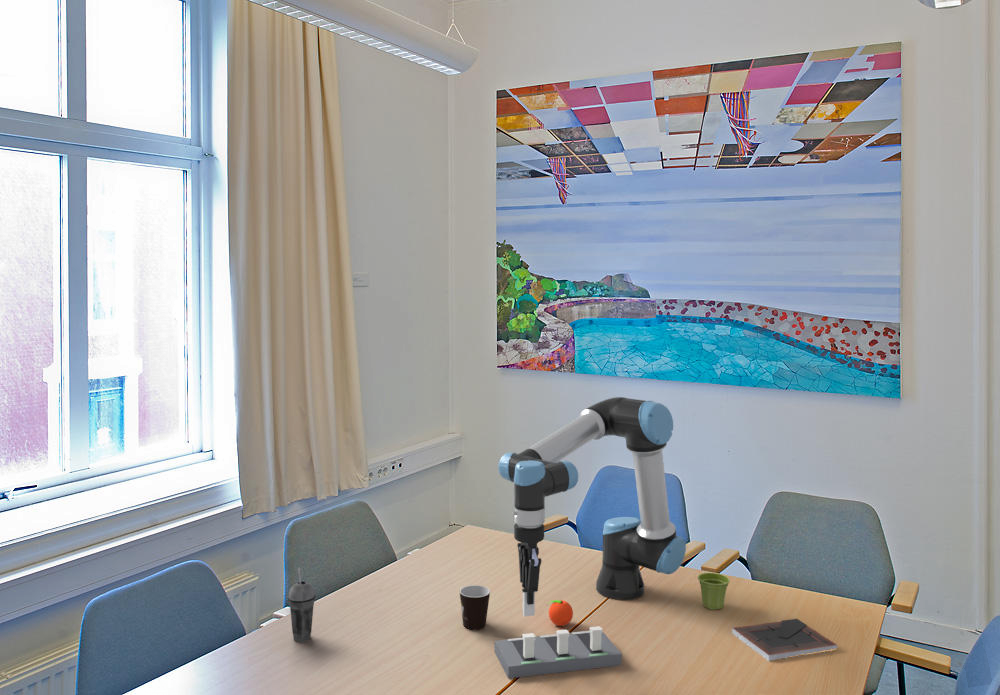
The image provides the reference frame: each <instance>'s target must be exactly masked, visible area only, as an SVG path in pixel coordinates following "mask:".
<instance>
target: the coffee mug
mask: <svg viewBox="0 0 1000 695" xmlns="http://www.w3.org/2000/svg"><path fill="white" fill-rule="evenodd" d="M490 594H491V589H490V588H489V587H486V586H483V585H477V584H471V585H465V586H462V587H461V588H460V590H459V599H460V609H461V618H462V619H461V620H462V626H464V627H465V628H464V627H463V628H464V629H466V630H468V629H469V631H481V630H483V629H484V627H485V628H486V626H487V619H488V618H487V617H488V609H489V604H490V603H489V601H490ZM480 629H481V630H480Z"/></svg>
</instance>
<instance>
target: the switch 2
mask: <svg viewBox="0 0 1000 695" xmlns="http://www.w3.org/2000/svg"><path fill="white" fill-rule="evenodd" d="M603 630H604V629H603V628H602V627H601V626H600V625H598V626H589V630H588V631H590V649H591V650H592V651H596V650H601V635H602V633H604V631H603Z"/></svg>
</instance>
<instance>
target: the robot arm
mask: <svg viewBox="0 0 1000 695" xmlns="http://www.w3.org/2000/svg"><path fill="white" fill-rule="evenodd" d="M673 431H674V419H673V415H672V413H671V412H670V410H669V408H668V407H667V406H665V405H664V404H662V403H659V402H655V401H653V400H643V399H634V398H627V397H625V396H624V397H623V396H619V397H618V396H617V397H616V396H615V397H611V398H608V399H607V398H606V399H604V400H602V401H599V402H597V403H594V404H592V405H590V406H588V407H587V408H585V409H584V410H582V411H581V412H580V413H579V415H578V417H577V418H575V419H574V420H572V421H570V422H569V423H567V424H565V425H564V426H562V427H561V428H559V429H558V430H556V431H554V432H552V433H551V434H549V435H547V436H546V437H544V438H542V439H541V440H539V441H538V442H536V443H534V444H533V445H531V446H529V447H528V448H526V449H525V450H523V451H521V452H519V453H517V452H507V453H504V454H503V455H502V456H501V458H500V459H499V462H498V473H499V476H500V477H501V478H502V479H504V480H507V481H509V482H511V483H513V484H514V488H513V489H514V491H513V492H514V511H512V515H513V516H514V523H515V524H514V525H513V531H514V533H513V537H514V539H515V540H516V541H517V542H518V543H517V545H516V546H517V551H518V564H519V565H518V566H519V567H518V568H519V582H520V583H521V587H522V589H521V590H522V615H523V617H529V616H530V617H531V616H535V614H536V613H535V612H536V611H535V610H536V608H535V606H536V604H535V603H536V601H535V600H536V599H535V598H536V596H535V595H536V592H538V591H539V582H540V571H541V564H542V558H541V557H539V556H538V555H539V554H540V549H539V547H538V543H540V542H542V541H543V540H544V539H545V524H544V523H545V518H546V515H545V514H546V512H545V511H546V510H545V509H546V508H545V507H546V506H545V499H546V497H549V496H552V495H556V494H559V493H565V492H567V491H569V490H571V489H573V488H576V486H577V484H578V482H579V471H578V469H577V467H576V466H575V465H574V463H573V462H571V461H568V460H563V459H564V458H566V457H567V456H569V455H570V454H572V453H574V452H576V451H577V450H578V449H580V448H582V447H583V446H585V445H586V444H588V443H589V442H591V441H592V440H600V439H602V438H604V437H606V436H615V437H620V438H624V439H625V444H626V448H627V450H628V451H629V452H630V453H632V458H633V466H634V476H635V482H636V483H635V485H636V493H637V500H638V510H639V518H638V517H632V516H619V517H618V516H617V517H612V518H609V519H607V520H606V521H605V522H604V524H603V532H602V563H601V564H602V565H601V568H600V571H599V573H598V576H597V580H596V583H595V584H596V585H595V587H596V588H595V590H596V591H597V592H598V594H599V595H602V596H603V597H606V598H609V599H613V600H622V601H623V600H624V601H626V600H634V599H638V598H640V597H642V596H644V594H645V582H644V579H643V576H642V572H641V569H640V567H642V568H645V569H649V570H651V571H655V572H656V573H659V574H660V573H661V574H664V575H672V574H674V573H675V572H676V571H678V570H679V569H680V567H681V566H682V563H683V561H684V559H685V557H686V556H685V555H686V551H687V544H686V541H685V539H684V538H682V536H677V527H676V525H675V524H674V523H673V522H672V521H670V520H671V519H670V512H669V503H668V500H669V499H668V493H667V485H666V484H667V482H666V473H665V465H664V464H665V463H664V456H663V450H664V449H665V448H666V447H667V443H668V442H669V441H670V439H671V438H672V436H673Z"/></svg>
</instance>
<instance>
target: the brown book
mask: <svg viewBox="0 0 1000 695" xmlns="http://www.w3.org/2000/svg"><path fill="white" fill-rule="evenodd" d="M733 634H734V635H733ZM731 635H733V636H734V637H736V638H737V637H738V638H737V639H739V640H740V641H741V640H742V641H741V642H742V643H744V644H745V643H746V644H745V645H747V646H748V647H749V648H750V649H752V650H753V651H755V652H756V653H757V652H758V653H757V654H759V655H760V656H761V657H763V658H764V659H765V658H766V659H767V660H766V659H765V660H766V661H768V662H770V660H772V661H776V660H775V659H779V660H781V659H780V658H785V659H787V658H786V657H790V656H796V655H801V654H807V653H813V652H819V651H823V650H830V649H835V648H837V649H838V644H836V643H835V642H833V641H832V640H830V639H829V638H827V637H825V636H824V635H823V634H821V633H819V632H818V631H816V630H814V628H811V627H810V626H809V625H808V624H806V623H804V622H803V621H801V620H800V619H798V618H792V619H791V618H790V619H784V620H780V621H773V622H767V623H766V622H765V623H758V624H750V625H744V626H738V627H737V626H736V627H732V628H731Z"/></svg>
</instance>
